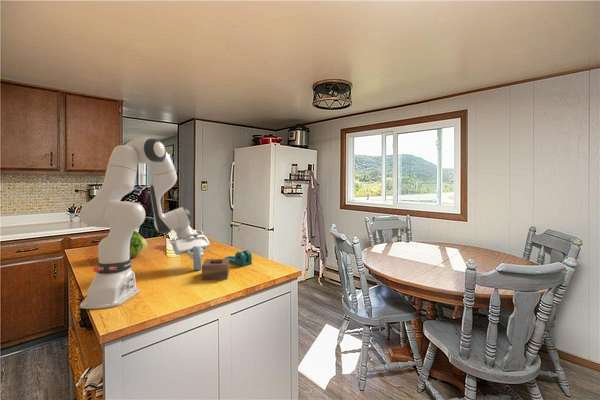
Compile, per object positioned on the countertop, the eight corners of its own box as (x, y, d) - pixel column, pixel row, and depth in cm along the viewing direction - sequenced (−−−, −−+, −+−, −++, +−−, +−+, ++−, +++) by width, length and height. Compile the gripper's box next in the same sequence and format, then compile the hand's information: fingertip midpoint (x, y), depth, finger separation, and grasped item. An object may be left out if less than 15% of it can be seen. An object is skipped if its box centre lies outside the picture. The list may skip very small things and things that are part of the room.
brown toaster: (227, 279, 145) (227, 265, 145) (201, 280, 143) (201, 265, 143) (229, 271, 157) (229, 258, 156) (205, 272, 155) (205, 259, 155)
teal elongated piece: (251, 264, 171) (251, 251, 171) (242, 267, 166) (242, 253, 165) (231, 259, 182) (231, 246, 182) (222, 261, 177) (222, 248, 176)
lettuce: (152, 258, 183) (153, 228, 186) (111, 260, 165) (113, 228, 167) (137, 257, 195) (138, 229, 197) (96, 260, 176) (98, 229, 178)
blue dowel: (200, 269, 157) (200, 247, 156) (192, 270, 157) (192, 247, 156) (201, 267, 161) (201, 245, 160) (194, 267, 161) (194, 246, 160)
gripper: (171, 236, 153) (182, 257, 148) (205, 231, 170) (216, 250, 165) (167, 243, 156) (177, 264, 151) (200, 237, 173) (211, 257, 168)
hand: (198, 257), depth 158 cm, fingers closed on blue dowel, 4 cm apart
